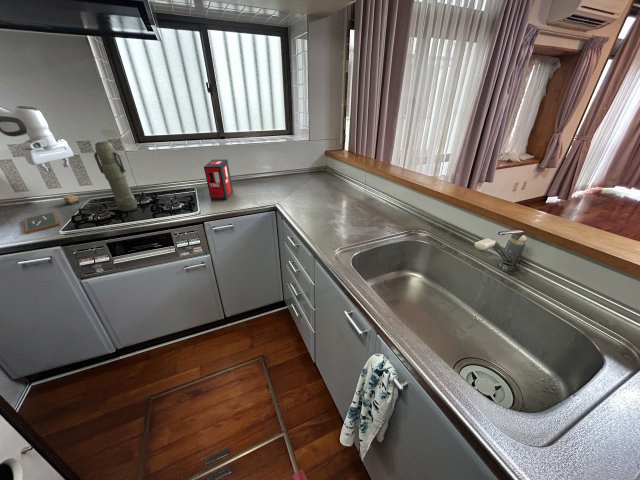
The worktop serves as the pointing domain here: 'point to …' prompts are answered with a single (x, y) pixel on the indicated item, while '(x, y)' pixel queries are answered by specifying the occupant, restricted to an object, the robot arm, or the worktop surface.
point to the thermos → (115, 175)
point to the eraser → (71, 199)
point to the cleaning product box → (218, 179)
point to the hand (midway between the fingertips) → (57, 169)
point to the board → (41, 222)
